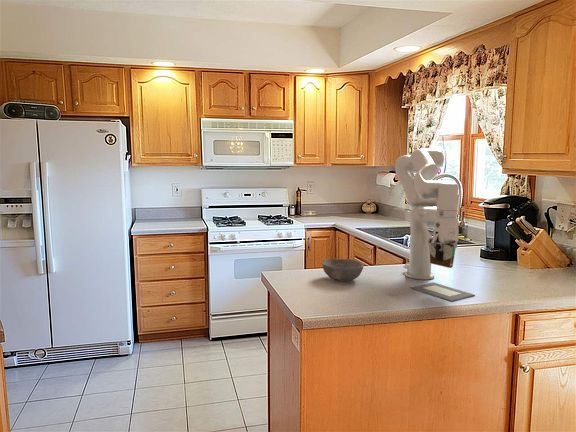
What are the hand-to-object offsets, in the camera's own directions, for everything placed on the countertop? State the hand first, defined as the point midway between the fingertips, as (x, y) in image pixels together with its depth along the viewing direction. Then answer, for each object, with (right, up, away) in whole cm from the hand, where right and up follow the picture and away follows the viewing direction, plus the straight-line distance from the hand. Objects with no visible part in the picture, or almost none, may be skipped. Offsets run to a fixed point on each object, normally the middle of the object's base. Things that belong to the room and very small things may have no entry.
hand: (443, 259), depth 183 cm
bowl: (-38, -11, +18) cm, 43 cm away
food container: (+1, -2, +1) cm, 3 cm away
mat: (0, -13, +2) cm, 13 cm away
